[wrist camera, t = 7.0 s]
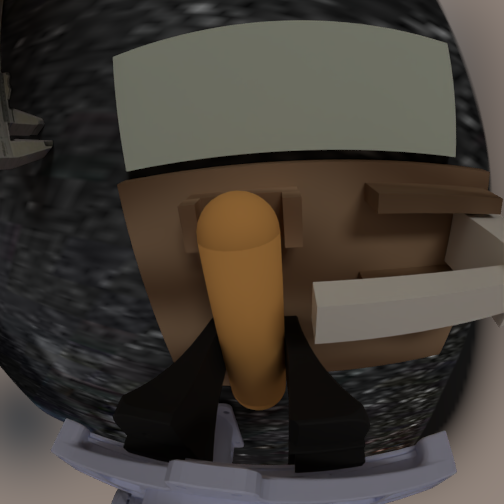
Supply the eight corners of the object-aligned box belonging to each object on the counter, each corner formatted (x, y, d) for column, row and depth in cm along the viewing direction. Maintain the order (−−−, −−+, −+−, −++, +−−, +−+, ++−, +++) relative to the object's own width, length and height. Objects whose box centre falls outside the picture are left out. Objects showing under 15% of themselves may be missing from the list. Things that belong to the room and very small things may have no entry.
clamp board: (435, 346, 16) (447, 371, 14) (180, 362, 18) (171, 390, 16) (481, 168, 10) (510, 181, 8) (125, 180, 12) (96, 195, 10)
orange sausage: (286, 379, 16) (285, 419, 13) (238, 379, 16) (232, 418, 13) (277, 179, 10) (277, 201, 8) (201, 186, 11) (177, 209, 8)
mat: (450, 155, 10) (455, 156, 10) (131, 169, 12) (126, 171, 12) (442, 45, 8) (447, 43, 7) (118, 58, 9) (112, 57, 9)
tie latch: (480, 257, 12) (534, 315, 7) (301, 270, 13) (313, 361, 8) (490, 208, 10) (557, 256, 5) (300, 209, 12) (318, 281, 7)
